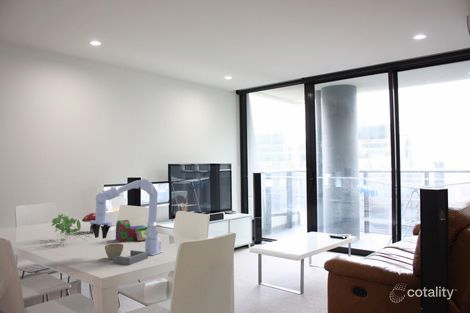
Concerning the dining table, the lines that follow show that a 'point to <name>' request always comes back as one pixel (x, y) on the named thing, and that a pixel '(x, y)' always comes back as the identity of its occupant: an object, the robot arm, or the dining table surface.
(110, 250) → the flower pot
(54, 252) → the dining table surface
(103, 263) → the dining table surface
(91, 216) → the decorative mushroom
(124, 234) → the puzzle
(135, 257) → the bracket
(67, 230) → the plant cuttings
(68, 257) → the dining table surface
